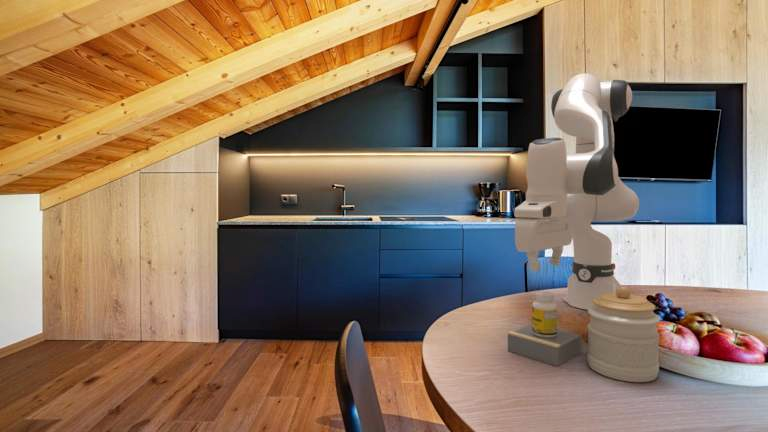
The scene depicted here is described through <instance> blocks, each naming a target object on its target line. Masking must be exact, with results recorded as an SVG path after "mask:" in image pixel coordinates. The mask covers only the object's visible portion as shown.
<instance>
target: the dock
mask: <svg viewBox="0 0 768 432" xmlns="http://www.w3.org/2000/svg"><path fill="white" fill-rule="evenodd" d="M582 344H583V334H579V333H574V332H571V331H567V330H562V329H559V328H557V335H556V336H555V337H552V338H543V337H539V336H536V335H534V334H533V332H532V323H531V324H528V325H526V326H524V327H521V328H519V329H516V330H515V331H512V330H510V331H507V351H508V352H510V353H513V354H517V355H520V356H523V357H526V358H530V359H533V360H536V361H539V362H543V363H546V364H549V365H551V366H555V367H559V366H561V365H563V364H564V363H565V362H568V361H570V360H571V359H572V358H574V357H576V356H577V355H579V354H581V353H582V352H583V348H582V346H583V345H582Z"/></svg>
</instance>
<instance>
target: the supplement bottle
mask: <svg viewBox="0 0 768 432" xmlns="http://www.w3.org/2000/svg"><path fill="white" fill-rule="evenodd" d="M535 299H536V300H535V301H533V302H532V305H531V306H532V307H531V308H532V313H531V314H532V319H531V320H532V321H531V322H532V323H531V324H532V332H533V334H534V335H536V336H539V337H543V338H552V337H555V336H556V335H557V329H558V305H557V303H556V302H554V300H555V294H554V293H553V292H551V291H542V290H541V291H536V292H535Z"/></svg>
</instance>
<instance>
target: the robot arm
mask: <svg viewBox="0 0 768 432" xmlns="http://www.w3.org/2000/svg"><path fill="white" fill-rule="evenodd" d="M632 101H633V91H632V89H631V86H630V84H629V83H628V82H627V80H623V79H612V80H606V81H600V80H599V79H598V78H597V76H595V75H593V74H591V73H579V74H576V75H574V76H573V77H571V78H570V79H569V80H568V81H567V83H566V84H565V85H564V87H563V88H562V89H559V90H557V91H556V92H555V93H554V94H553V96H552V99H551V103H550V111H551V113H552V117H553V118H554V123H555V124H556V127H557V128H558V129H559V130H560V131H561V132H563V133H565V134H566V135H569V136H571V137H576V139H575V153H568V154H567V146H566V142H565V139H564V138H561V137H546V138H540V139H535V140H533V141H531V142H530V143H529V145H528V151H527V157H526V169H525V178H526V181H527V189H526V193H525V200H524V201H523V202H522V203H521V204H519V205H517V206H516V207H515V208H514V211H513V214H514V217H515V218H517V219H516V221H515V223H514V224H515V225H514V244H515V247H516V250H517V252H521V253H526V258H527V260H528V262H529V270H530V271H531V272H538V271H540V270H541V262H539V259H538V257H539V256H540V255H539V253H540V252H541V251H546V250H552V253H551V257H550V258H549V265H551V266H554V267H555V266H559V265H561V257H562V254H563V251H564V246H565V247H566V246H569V245H571V244H573V246H572V247H573V261H572V264H571V273H572V274H571V275H570V276H569V277H568V278H567V289H566V296H563V297H562V301H563V302H566V303H567V304H568V305H569V306H571V307H574V308H578V309H582V310H587V311H588V309H589V308H591V307H593V306H594V303H593V301H592V300H593V299H594V298H595V297H598V296H600V295H601V294H603V293H616V289H617V288H618V287H620V286H622V285H621V283H619V281H618V280H617V279H616V277H615V272H614V271H615V270H616V263H612V256H613V255H612V251H613V248H612V247H613V244H612V241H611V238H610V237H609V236H607V235H606V234H604V233H602V232H600V231H597V230H596V229H593V227H592V222H618V221H620V222H621V221H625V220H631V219H632V218H634V217H635V215H637V213H638V211H639V208H640V199H639V197H638V195H637V194H636V192H635V191H634V190H633V189H631V188H629V187H628V186H627V185H626V184H625V183H624V182H623V181H622V180H621V178H620V177H619V168H618V164H617V161H616V158H615V132H614V124H613V122H615V123H616V122H618V120H619V118H620V117H623V116H625V114H626V113H627V112H628V111H629V109H630V107H631V104H632Z"/></svg>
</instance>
